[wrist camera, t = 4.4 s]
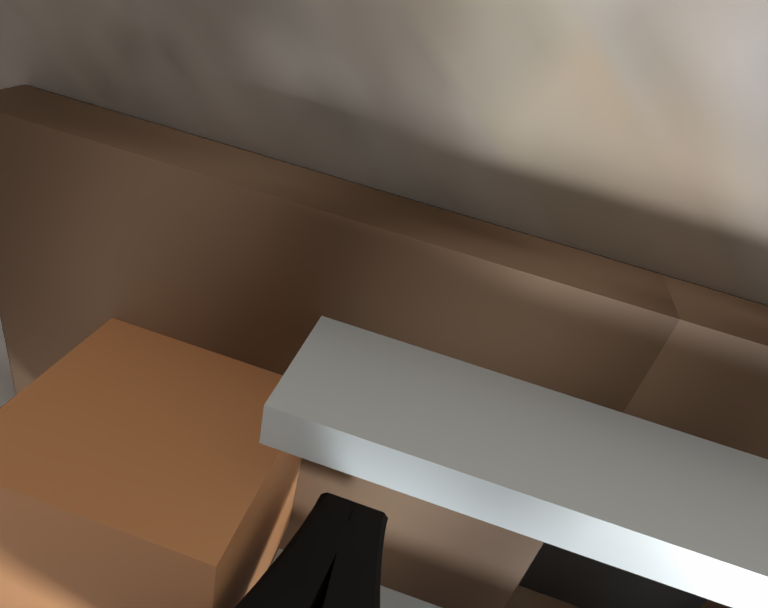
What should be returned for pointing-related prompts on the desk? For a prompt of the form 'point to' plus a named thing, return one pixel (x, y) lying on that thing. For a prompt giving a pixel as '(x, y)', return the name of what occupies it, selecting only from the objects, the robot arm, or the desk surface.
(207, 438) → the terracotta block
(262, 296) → the trap deck
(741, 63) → the desk surface
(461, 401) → the white slats
